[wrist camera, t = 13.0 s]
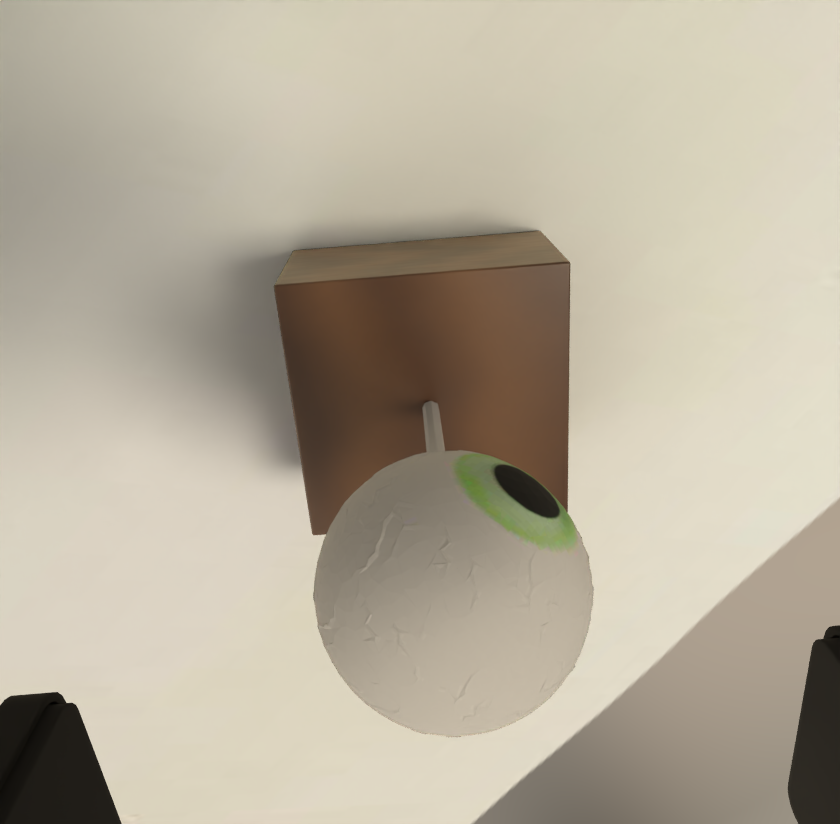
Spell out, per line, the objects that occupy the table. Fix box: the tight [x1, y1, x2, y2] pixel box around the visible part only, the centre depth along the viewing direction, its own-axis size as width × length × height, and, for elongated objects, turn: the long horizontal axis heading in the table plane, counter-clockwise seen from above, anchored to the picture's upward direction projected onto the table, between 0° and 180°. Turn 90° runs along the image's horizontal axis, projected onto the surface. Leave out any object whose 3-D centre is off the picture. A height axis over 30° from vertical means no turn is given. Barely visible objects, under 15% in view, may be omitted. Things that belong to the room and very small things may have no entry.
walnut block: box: [274, 231, 570, 535], centre depth 33 cm, size 11×11×6 cm
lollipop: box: [313, 401, 594, 737], centre depth 23 cm, size 7×7×15 cm
